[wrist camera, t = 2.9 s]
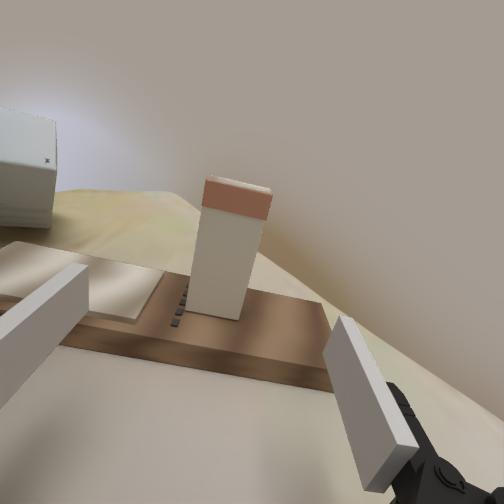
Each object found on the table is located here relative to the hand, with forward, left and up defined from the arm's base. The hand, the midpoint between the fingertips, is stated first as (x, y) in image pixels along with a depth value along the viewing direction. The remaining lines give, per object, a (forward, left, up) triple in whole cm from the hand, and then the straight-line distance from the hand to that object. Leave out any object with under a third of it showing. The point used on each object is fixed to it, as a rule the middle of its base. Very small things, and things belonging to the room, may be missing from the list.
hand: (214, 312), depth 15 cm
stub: (0, +10, -7) cm, 12 cm away
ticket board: (-5, +10, -10) cm, 15 cm away
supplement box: (-29, +24, -8) cm, 38 cm away
